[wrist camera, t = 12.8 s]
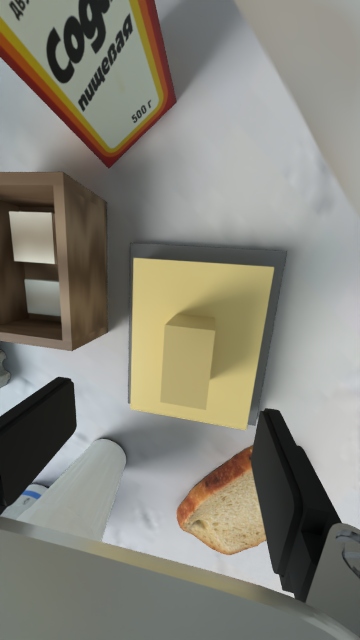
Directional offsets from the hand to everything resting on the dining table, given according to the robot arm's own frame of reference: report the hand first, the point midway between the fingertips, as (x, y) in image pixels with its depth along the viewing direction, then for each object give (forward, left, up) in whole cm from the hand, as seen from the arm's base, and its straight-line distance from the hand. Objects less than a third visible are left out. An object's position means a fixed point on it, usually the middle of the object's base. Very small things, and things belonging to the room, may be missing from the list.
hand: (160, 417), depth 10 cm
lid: (+1, 0, -15) cm, 15 cm away
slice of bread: (+23, +8, -17) cm, 30 cm away
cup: (+21, -12, -16) cm, 29 cm away
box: (-7, -18, -16) cm, 25 cm away
